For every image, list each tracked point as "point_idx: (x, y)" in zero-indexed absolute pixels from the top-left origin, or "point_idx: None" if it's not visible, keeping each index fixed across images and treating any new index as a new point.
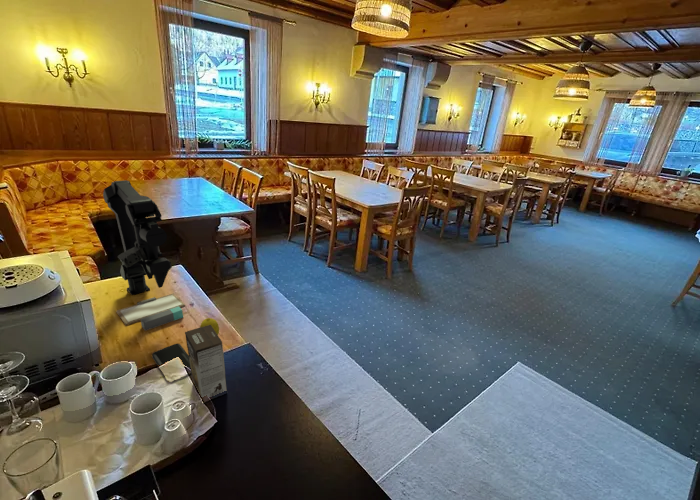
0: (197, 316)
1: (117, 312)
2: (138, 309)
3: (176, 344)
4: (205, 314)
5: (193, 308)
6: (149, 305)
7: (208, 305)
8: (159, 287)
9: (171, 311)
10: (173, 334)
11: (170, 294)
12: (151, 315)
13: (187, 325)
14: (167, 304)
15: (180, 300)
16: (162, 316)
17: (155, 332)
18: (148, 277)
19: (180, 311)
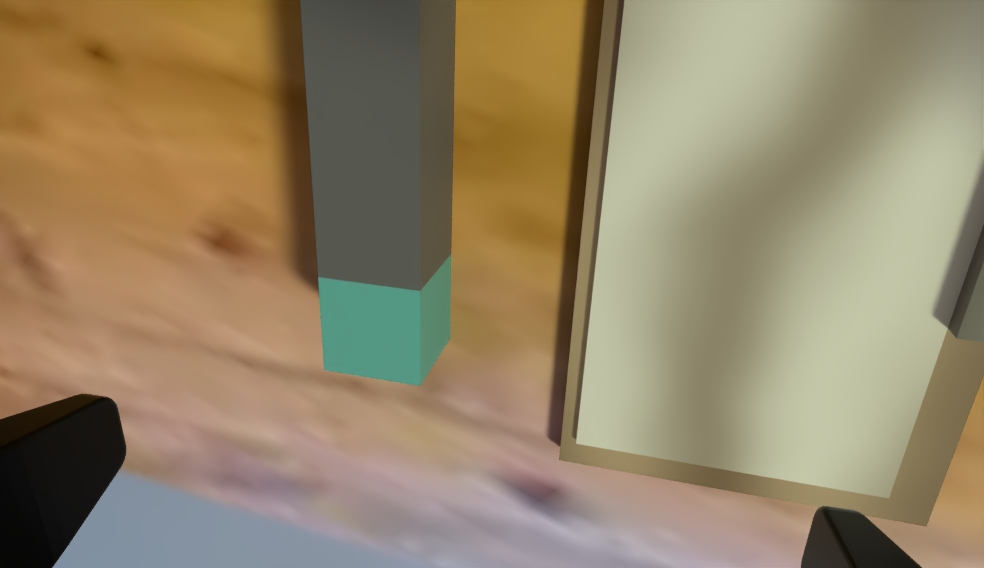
0: (300, 407)
1: None
2: (888, 44)
3: None
4: (292, 461)
5: (458, 462)
6: (868, 200)
7: (419, 557)
8: (88, 404)
9: (359, 281)
10: (131, 121)
11: (928, 493)
12: (416, 71)
13: (208, 278)
14: (698, 352)
15: (680, 477)
16: (311, 159)
17: (253, 4)
18: (831, 537)
19: (329, 344)
